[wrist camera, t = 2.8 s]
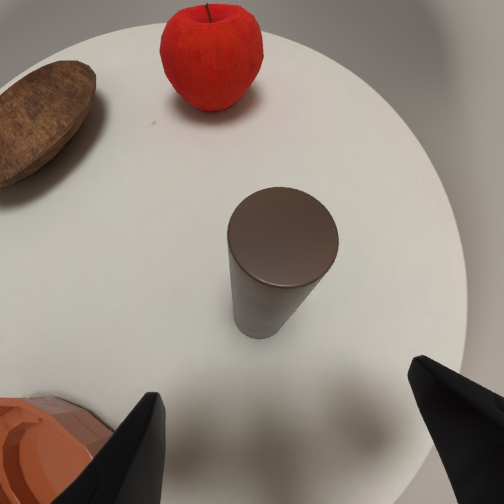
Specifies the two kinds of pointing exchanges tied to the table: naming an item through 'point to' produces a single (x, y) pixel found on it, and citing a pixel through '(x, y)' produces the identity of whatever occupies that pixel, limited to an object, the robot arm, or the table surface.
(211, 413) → the table surface
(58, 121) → the bowl
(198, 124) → the table surface
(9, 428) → the mixing bowl
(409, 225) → the table surface
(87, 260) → the table surface
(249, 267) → the brown tall cylinder
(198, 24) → the apple
